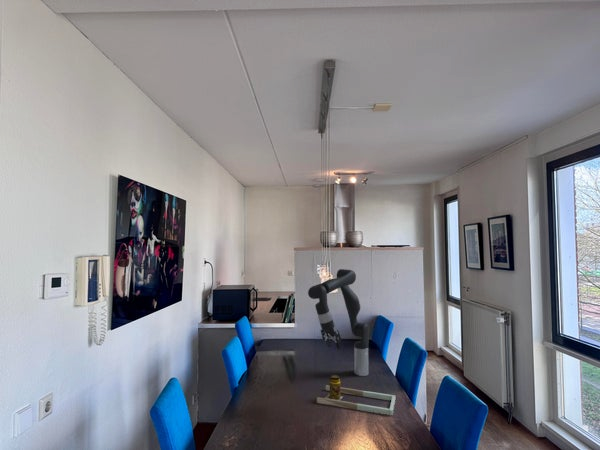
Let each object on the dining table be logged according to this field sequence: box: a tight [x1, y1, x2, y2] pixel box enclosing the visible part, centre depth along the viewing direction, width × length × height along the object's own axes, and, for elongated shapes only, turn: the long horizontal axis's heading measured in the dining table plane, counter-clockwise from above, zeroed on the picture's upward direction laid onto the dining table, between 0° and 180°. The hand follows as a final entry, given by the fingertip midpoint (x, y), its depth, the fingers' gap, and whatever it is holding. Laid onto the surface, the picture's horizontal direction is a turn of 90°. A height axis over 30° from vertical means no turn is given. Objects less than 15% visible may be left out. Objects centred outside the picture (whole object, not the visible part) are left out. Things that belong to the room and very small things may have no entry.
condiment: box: [324, 374, 344, 401], centre depth 190 cm, size 7×8×12 cm
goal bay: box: [357, 390, 397, 416], centre depth 181 cm, size 18×18×2 cm
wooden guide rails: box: [316, 384, 364, 410], centre depth 188 cm, size 18×22×2 cm
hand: (334, 347), depth 190 cm, fingers open, 8 cm apart
